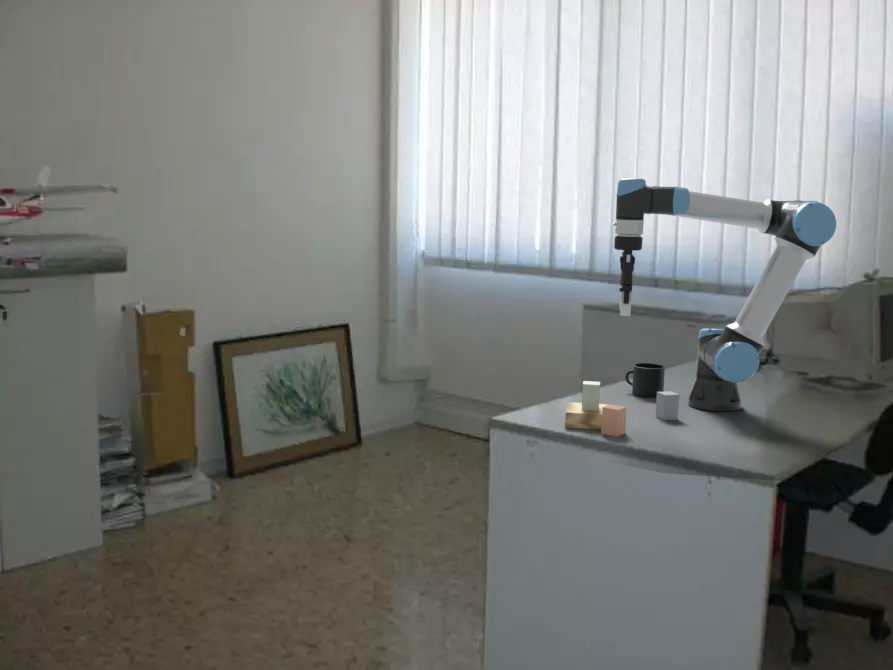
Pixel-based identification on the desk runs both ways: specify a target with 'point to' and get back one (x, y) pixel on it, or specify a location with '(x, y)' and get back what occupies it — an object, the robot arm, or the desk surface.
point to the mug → (647, 379)
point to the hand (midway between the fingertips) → (624, 312)
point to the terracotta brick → (613, 420)
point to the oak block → (583, 416)
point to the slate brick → (667, 405)
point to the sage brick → (590, 395)
